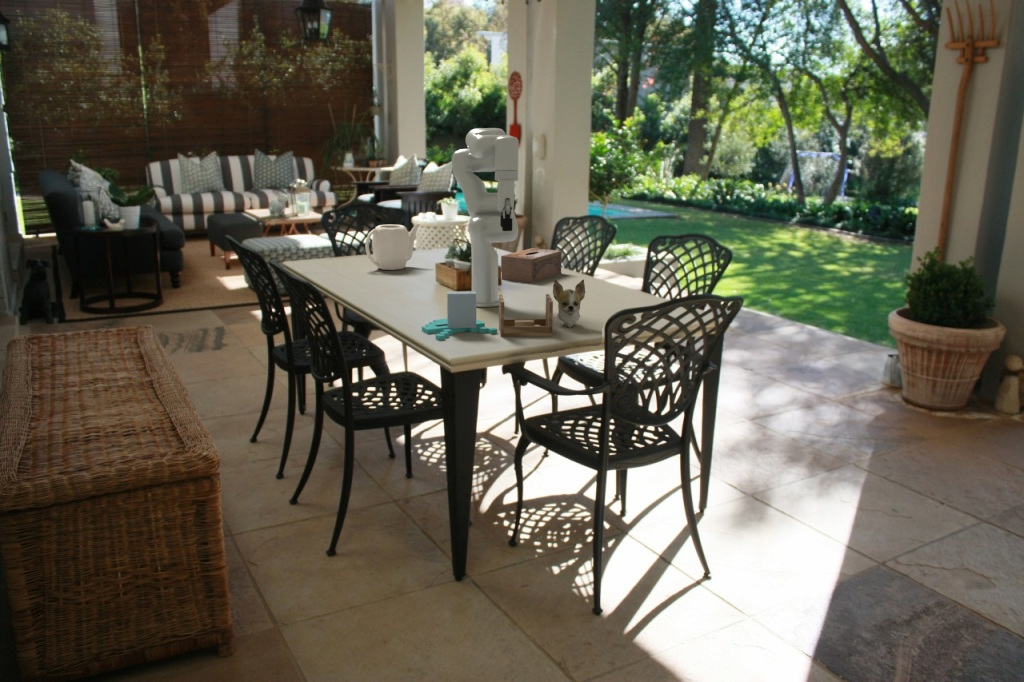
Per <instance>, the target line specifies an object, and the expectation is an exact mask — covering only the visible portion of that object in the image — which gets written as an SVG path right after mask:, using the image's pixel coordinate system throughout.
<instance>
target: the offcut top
mask: <svg viewBox="0 0 1024 682" xmlns="http://www.w3.org/2000/svg"><path fill="white" fill-rule="evenodd" d="M514 326H515V327H516V326H534V321H533V320H514Z"/></svg>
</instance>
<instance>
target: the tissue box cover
mask: <svg viewBox="0 0 1024 682" xmlns="http://www.w3.org/2000/svg"><path fill="white" fill-rule="evenodd" d="M500 260H501V261H500V273H501V272H502V279H501V280H504V281H511V282H512V281H513V282H514V281H515V282H520V283H528V284H532V283H535V282H538V281H542V280H545V279H547V278H548V279H549V278H551V277H554V276H557V275H561V274H562V250H556V249H546V248H545V249H544V248H534V247H531V248H527V249H523V250H520V251H516V252H511V253H507V254H504V255H501V256H500Z"/></svg>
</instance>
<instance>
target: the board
mask: <svg viewBox="0 0 1024 682" xmlns="http://www.w3.org/2000/svg"><path fill="white" fill-rule="evenodd" d="M446 293H447V295H446V299H447V300H446V303H447V305H446V306H447V307H446V309H447V313H446V314H447V318H446V319H447V321H448V328H476V320H477V307H476V291H472V290H471V291H467V290H466V291H447V292H446Z"/></svg>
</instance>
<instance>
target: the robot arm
mask: <svg viewBox="0 0 1024 682" xmlns="http://www.w3.org/2000/svg"><path fill="white" fill-rule="evenodd" d="M465 145H466V147H467V148H461V149H458V150H455V151H454V152H453V153H452V156H451V168H452V173H453V176H454V179H455V181H456V183H457V184H458V185H459V187H460V188H461V189H460V190H461V191H462V194H463V195H462V196H463V198H464V202H465V206H466V210H467V212H468V215H469V216H470V218H472V219H471V220H470V221H469V224H468V234H469V240H470V249H471V250H470V251H471V291H476V308H494V307H499V255H498V253H497V251H496V249H495V248H494V247H493V246H492V244H497V243H498V244H499V243H511V242H514V241H515V240H517V238H518V236H519V225H518V221H517V219H516V215H515V214H516V213H515V211H514V208H515V206H514V205H515V182H518V181H519V139H518V138H517V137H516V136H512V135H509V134H508V135H507V134H506V132H505V131H504V130H503V129H502V128H498V127H487V128H485V127H484V128H483V127H477V128H476V127H475V128H473V129H470V131H468V133H467V134H466V137H465ZM492 172H494V181H496V182H497V192H488V191H487V187H486V184H485V183H484V181H483V180H482V179H481V178H480V177H479V176H478V175H476V174H475V173H492Z"/></svg>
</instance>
